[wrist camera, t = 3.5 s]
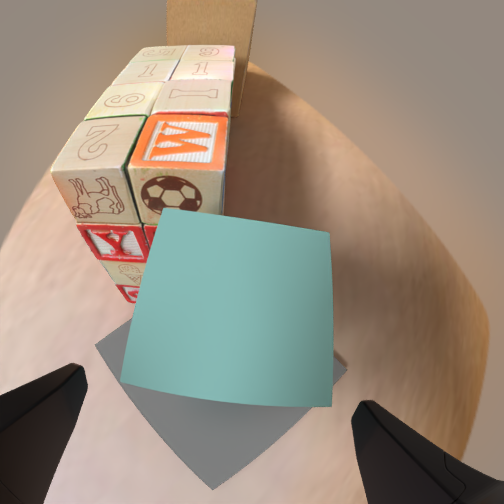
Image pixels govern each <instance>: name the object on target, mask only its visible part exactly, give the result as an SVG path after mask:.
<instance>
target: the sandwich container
mask: <svg viewBox="0 0 504 504" xmlns="http://www.w3.org/2000/svg"><path fill="white" fill-rule="evenodd" d="M256 6H257V0H167V46H181V45H229V46H235V48H236V50H235V58H236V63H235V72H234V83H233V94H232V103H231V117H238V116H239V111H240V105H241V100H242V94H243V89H244V84H245V78H246V73H247V67H248V61H249V55H250V49H251V41H252V34H253V27H254V20H255V13H256Z"/></svg>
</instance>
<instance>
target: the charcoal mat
mask: <svg viewBox="0 0 504 504" xmlns="http://www.w3.org/2000/svg"><path fill="white" fill-rule="evenodd" d="M131 322H132V318H131V319H130V320H129V321H127V322H126V323H124V324H123V325H122V326H120V327H119V328H117V329H116V330H115V331H113V332H112V333H110V334H109V335H108V336H106V337H105V338H103V339H102V340H101V341H99V342H98V343H97V344H95V346H96V348H97V350H98V351H99V353H100V355H101V356H102V358H103V359H104V361H105V363H106V364H107V366H108V367H109V369H110V370H111V372H112V373H113V375H114V376H115V378H116V379H117V381H118V382H119V384H120V385H121V387H122V388H123V389H124V391H125V392H126V394H127V395H128V396H129V398H130V399H131V400H132V402H133V403H134V404H135V406H136V407H137V408H138V410H139V411H140V412H141V414H142V415H143V416H144V417H145V419H146V420H147V421H148V422H149V424H150V425H151V426H152V427H153V429H154V430H155V431H156V432H157V433H158V434H159V436H160V437H161V438H162V439H163V440H164V441H165V443H166V444H167V445H168V446H169V447H170V448H171V449H172V450H173V451H174V453H175V454H176V455H177V456H178V457H179V458H180V459H181V460H182V461H183V462H184V463H185V464H186V465H187V466H188V467H189V468H190V469H191V470H192V471H193V472H194V473H195V474H196V475H197V476H198V477H199V478H200V479H201V480H202V481H203V482H204V483H205V484H206V485H207V486H208V487H210V488H211V489H212V490H214V489H215V488H217V487H218V486H219V485H221V484H222V483H224V482H225V481H227V480H228V479H229V478H231V477H232V476H233V475H235V474H236V473H237V472H239V471H240V470H241V469H243V468H244V467H245V466H247V465H248V464H249V463H250V462H252V461H253V460H254V459H255V458H257V457H258V456H259V455H260V454H261V453H263V452H264V451H265V450H266V449H267V448H269V447H270V446H271V445H272V444H273V443H274V442H276V441H277V440H278V439H279V438H280V437H281V436H282V435H284V434H285V433H286V432H287V431H288V430H289V429H290V428H291V427H292V426H293V425H294V424H296V423H297V422H298V421H299V420H300V419H301V418H302V417H303V416H304V415H305V414H306V413H307V412H308V411H309V410H310V409H311V408H312V407H284V406H263V405H250V404H239V403H229V402H220V401H213V400H205V399H199V398H192V397H186V396H180V395H175V394H170V393H165V392H160V391H155V390H151V389H146V388H142V387H138V386H134V385H130V384H126V383H122V382H120V378H121V372H122V367H123V361H124V356H125V350H126V345H127V340H128V336H129V331H130V326H131ZM346 371H347V369H346V368H345V367H344V366H343V365H342V364H341V363H340V362H339V361H338V360H337V359H336V358H335V357H334V356H333V385H334V384H335V383H336V382H337V381H338V380H339V379H340V378H341V376H342V375H343V374H344V373H345V372H346Z"/></svg>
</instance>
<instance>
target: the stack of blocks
mask: <svg viewBox="0 0 504 504" xmlns="http://www.w3.org/2000/svg"><path fill="white" fill-rule="evenodd" d="M235 50H236V48H235V46H229V45H181V46H161V47H147V48H143V49H142V50H141V51H140V52H139V53H138V54H137V55H136V56H135V57H134V58H133V59H132V60H131V61H130V62H129V64H128V65H127V66H126V67H125V68H124V69H123V71H122V72H121V73H120V74H119V76H118V77H117V78H116V79H115V80H114V81H113V83H112V85H111V86H110V87H108V88H107V89H106V90H105V92H104V93H103V94H102V96H101V97H100V98H99V99H98V101H97V102H96V103H95V104H94V106H93V107H92V108H91V110H90V111H89V113H88V114H87V115H86V117H85V119H84V121H83V122H81V123H80V124H79V125H78V126H77V128H76V129H75V130H74V132H73V133H72V135H71V137H70V138H69V140H68V141H67V142H66V144H65V146H64V147H63V149H62V150H61V152H60V153H59V155H58V157H57V158H56V160H55V161H54V163H53V165H52V167H51V170H50V172H51V174H52V177H53V179H54V182H55V184H56V186H57V187H58V189H59V191H60V193H61V195H62V197H63V199H64V200H65V202H66V204H67V206H68V208H69V209H70V211H71V213H72V215H73V216H74V218H75V219H76V220H77V224H76V226H77V228H78V230H79V231H80V233H81V235H82V237H83V238H84V239H85V241H86V243H87V245H88V246H89V247H90V249H91V251H92V252H93V253H94V255H95V257H96V258H97V259H99V260H100V262H101V264H102V265H103V267H104V268H105V269H106V271H107V272H108V274H109V275H110V277H111V278H112V280H113V281H114V282H115V285H116V286H117V288H118V289H119V290H120V292H121V293H122V294H123V296H124V297H125V299H126V300H127V301H128V302H130V303H136V300H137V296H138V292H139V289H140V285H141V281H142V277H143V273H144V270H145V266H146V263H147V259H148V256H149V252H150V249H151V245H152V242H153V239H154V236H155V232H156V229H157V226H158V223H159V220H160V217H161V214H162V211H163V208H170V209H178V210H185V211H193V212H200V213H208V214H215V215H222V216H223V215H224V200H225V171H226V162H227V153H228V145H229V134H230V122H231V103H232V94H233V83H234V72H235V63H236V58H235Z"/></svg>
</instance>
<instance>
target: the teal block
mask: <svg viewBox="0 0 504 504" xmlns="http://www.w3.org/2000/svg"><path fill="white" fill-rule="evenodd" d="M120 382H122V383H126V384H130V385H134V386H138V387H142V388H146V389H151V390H155V391H160V392H165V393H170V394H175V395H180V396H186V397H192V398H199V399H205V400H213V401H220V402H229V403H239V404H250V405H263V406H284V407H332V388H333V288H332V266H331V249H330V234H329V232H324V231H318V230H312V229H306V228H300V227H294V226H288V225H281V224H275V223H269V222H262V221H256V220H249V219H243V218H236V217H229V216H222V215H215V214H208V213H200V212H193V211H185V210H178V209H170V208H163V211H162V214H161V217H160V220H159V223H158V226H157V229H156V232H155V236H154V239H153V242H152V245H151V249H150V252H149V256H148V259H147V263H146V266H145V270H144V273H143V277H142V281H141V285H140V289H139V292H138V296H137V300H136V305H135V309H134V313H133V317H132V322H131V326H130V331H129V336H128V340H127V345H126V350H125V356H124V361H123V367H122V372H121V378H120Z"/></svg>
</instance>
